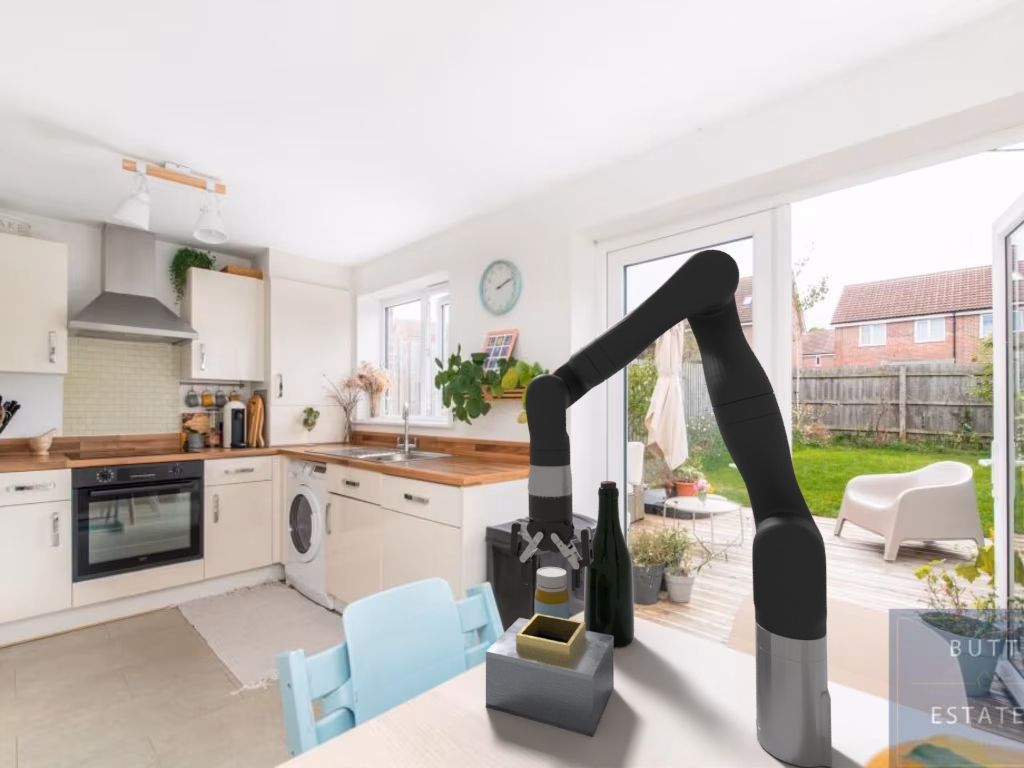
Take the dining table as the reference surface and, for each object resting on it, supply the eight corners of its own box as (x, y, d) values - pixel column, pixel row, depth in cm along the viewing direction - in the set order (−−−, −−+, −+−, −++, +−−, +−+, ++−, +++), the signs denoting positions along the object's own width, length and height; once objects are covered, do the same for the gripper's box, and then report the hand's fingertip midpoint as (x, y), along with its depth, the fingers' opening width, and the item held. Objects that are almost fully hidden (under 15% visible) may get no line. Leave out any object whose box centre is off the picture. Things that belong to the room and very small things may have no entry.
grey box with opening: (613, 688, 88) (613, 621, 88) (593, 736, 75) (592, 658, 76) (519, 665, 95) (519, 604, 96) (485, 706, 82) (485, 635, 83)
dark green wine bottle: (584, 648, 102) (584, 485, 103) (583, 625, 112) (583, 477, 113) (637, 651, 101) (636, 486, 102) (631, 628, 111) (630, 478, 112)
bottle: (568, 638, 106) (568, 566, 107) (569, 655, 99) (568, 578, 100) (535, 636, 107) (535, 565, 108) (533, 653, 100) (533, 577, 101)
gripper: (596, 489, 87) (597, 584, 86) (520, 485, 93) (521, 574, 92) (584, 497, 80) (586, 600, 79) (503, 491, 86) (504, 588, 85)
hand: (551, 586), depth 86 cm, fingers open, 8 cm apart
